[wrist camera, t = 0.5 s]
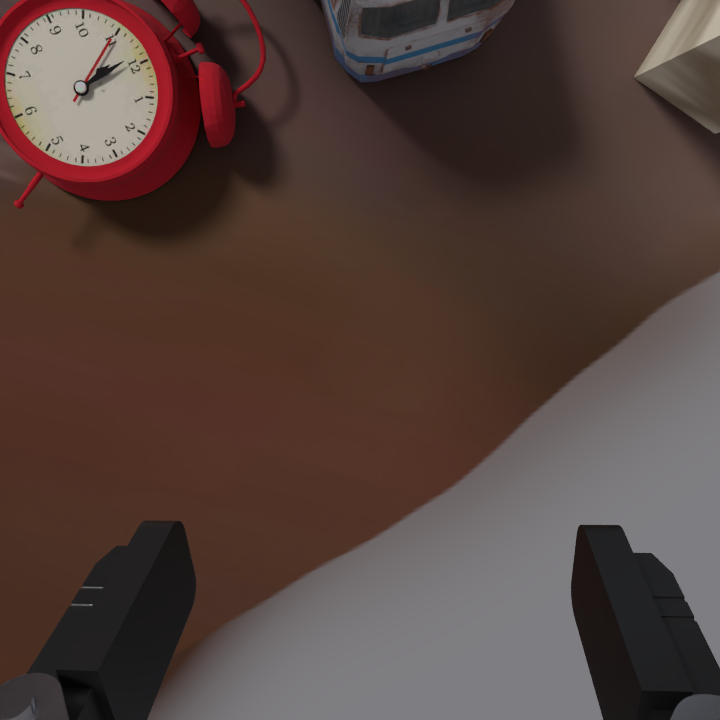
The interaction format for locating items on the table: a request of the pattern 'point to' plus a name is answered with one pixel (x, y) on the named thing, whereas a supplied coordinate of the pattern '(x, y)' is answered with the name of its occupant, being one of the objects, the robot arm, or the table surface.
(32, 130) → the alarm clock
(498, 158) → the table surface
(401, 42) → the toy bus
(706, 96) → the birch block
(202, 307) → the table surface
